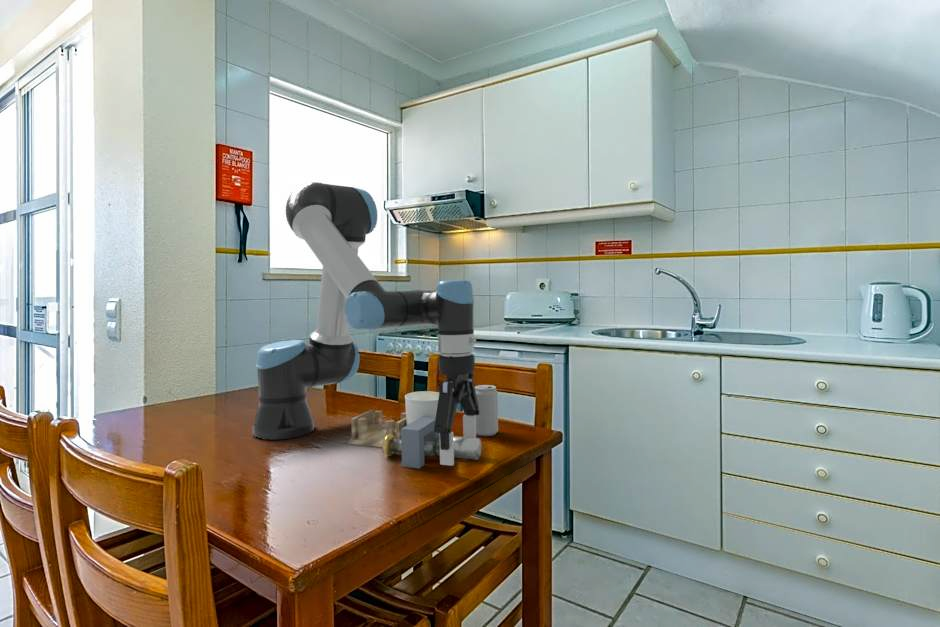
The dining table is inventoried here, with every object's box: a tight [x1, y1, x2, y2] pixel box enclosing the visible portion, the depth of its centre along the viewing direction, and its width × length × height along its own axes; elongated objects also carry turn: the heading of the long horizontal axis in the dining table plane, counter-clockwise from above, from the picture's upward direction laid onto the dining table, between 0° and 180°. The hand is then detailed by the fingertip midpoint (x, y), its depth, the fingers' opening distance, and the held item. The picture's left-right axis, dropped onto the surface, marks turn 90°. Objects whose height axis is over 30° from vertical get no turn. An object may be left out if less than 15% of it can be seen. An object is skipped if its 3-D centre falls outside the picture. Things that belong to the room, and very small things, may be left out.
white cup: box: [404, 390, 439, 426], centre depth 124 cm, size 10×10×12 cm
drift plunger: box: [381, 434, 436, 457], centre depth 114 cm, size 11×5×5 cm, turn 71°
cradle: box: [348, 409, 406, 448], centre depth 127 cm, size 14×10×6 cm
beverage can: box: [474, 384, 499, 437], centre depth 131 cm, size 6×6×12 cm
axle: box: [436, 435, 483, 461], centre depth 114 cm, size 9×4×4 cm
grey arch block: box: [401, 416, 439, 470], centre depth 113 cm, size 4×11×8 cm, turn 161°
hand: (459, 454), depth 110 cm, fingers open, 13 cm apart
